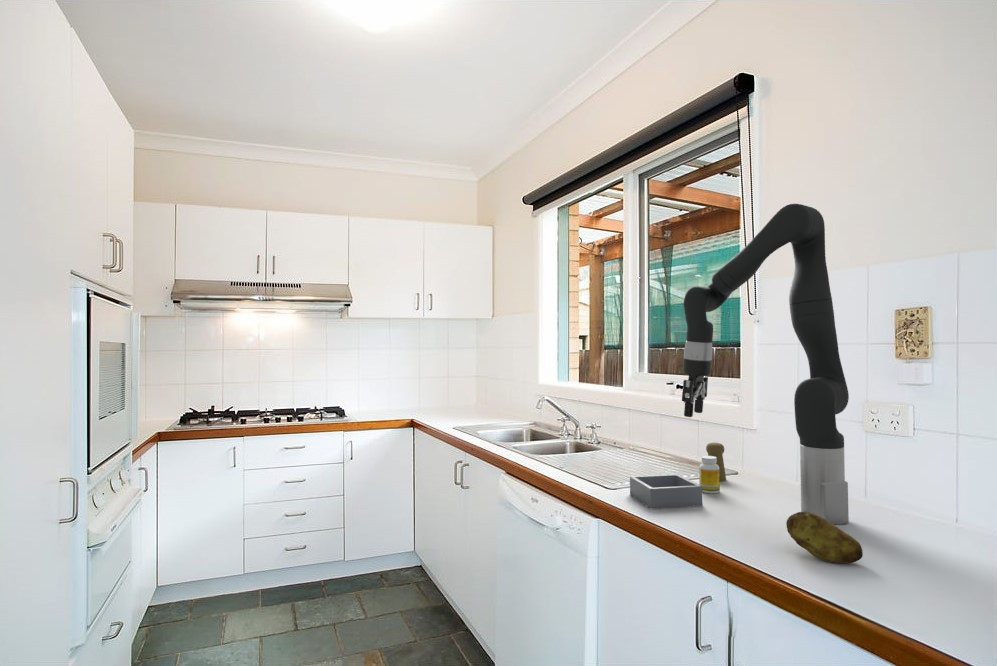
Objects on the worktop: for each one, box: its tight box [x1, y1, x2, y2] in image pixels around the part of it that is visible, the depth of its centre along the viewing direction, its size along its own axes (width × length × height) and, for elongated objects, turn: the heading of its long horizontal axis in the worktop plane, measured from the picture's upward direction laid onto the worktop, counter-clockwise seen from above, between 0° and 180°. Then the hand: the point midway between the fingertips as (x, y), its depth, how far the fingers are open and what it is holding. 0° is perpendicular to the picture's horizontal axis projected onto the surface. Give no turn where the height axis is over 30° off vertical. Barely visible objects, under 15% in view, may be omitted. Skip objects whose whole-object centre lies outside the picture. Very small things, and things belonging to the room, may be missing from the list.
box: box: [629, 473, 703, 509], centre depth 159 cm, size 14×14×5 cm
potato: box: [785, 511, 864, 564], centre depth 116 cm, size 8×13×8 cm, turn 23°
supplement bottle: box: [698, 455, 721, 494], centre depth 167 cm, size 5×5×10 cm
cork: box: [705, 442, 727, 482], centre depth 181 cm, size 6×6×11 cm
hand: (693, 414), depth 169 cm, fingers open, 8 cm apart
